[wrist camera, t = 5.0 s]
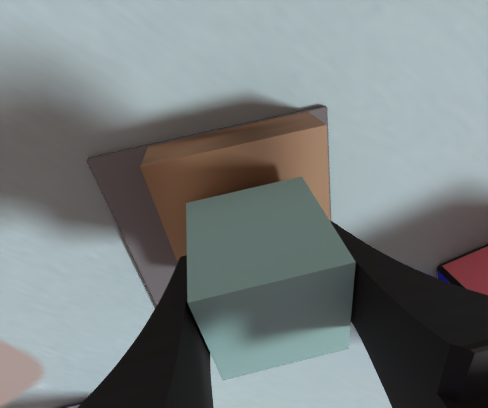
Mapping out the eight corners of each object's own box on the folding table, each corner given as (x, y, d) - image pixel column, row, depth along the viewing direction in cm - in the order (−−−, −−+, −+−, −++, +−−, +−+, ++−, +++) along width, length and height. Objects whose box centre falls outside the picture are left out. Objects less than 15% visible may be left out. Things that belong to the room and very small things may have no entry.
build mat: (164, 317, 21) (164, 321, 21) (88, 158, 15) (86, 160, 15) (331, 276, 21) (333, 280, 21) (324, 105, 15) (327, 106, 15)
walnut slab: (191, 267, 19) (191, 298, 17) (148, 146, 15) (140, 166, 13) (316, 238, 19) (332, 264, 17) (307, 111, 15) (326, 124, 13)
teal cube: (212, 279, 16) (222, 380, 12) (186, 203, 13) (187, 302, 9) (306, 257, 16) (348, 348, 12) (301, 176, 13) (355, 262, 9)
